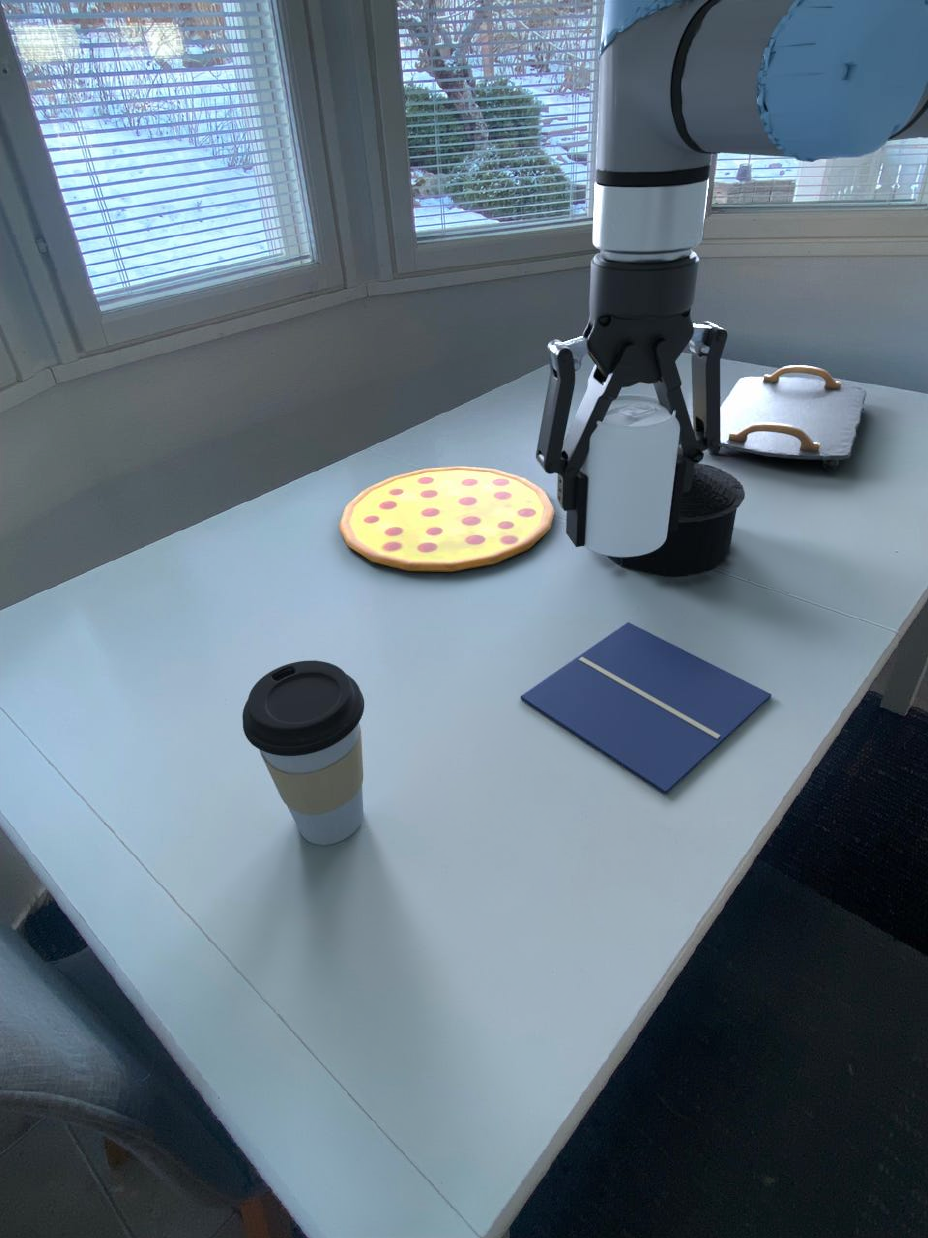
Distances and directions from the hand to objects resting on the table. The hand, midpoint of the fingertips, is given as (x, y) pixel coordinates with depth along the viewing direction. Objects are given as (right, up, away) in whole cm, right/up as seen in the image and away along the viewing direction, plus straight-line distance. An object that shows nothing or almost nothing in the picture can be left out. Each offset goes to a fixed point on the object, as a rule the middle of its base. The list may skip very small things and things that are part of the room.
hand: (621, 531), depth 65 cm
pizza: (-17, +7, +44) cm, 48 cm away
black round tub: (+13, +2, +35) cm, 37 cm away
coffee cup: (-26, -26, 0) cm, 37 cm away
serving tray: (+43, +26, +64) cm, 82 cm away
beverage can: (0, -1, +1) cm, 1 cm away
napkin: (+5, -16, +10) cm, 19 cm away
